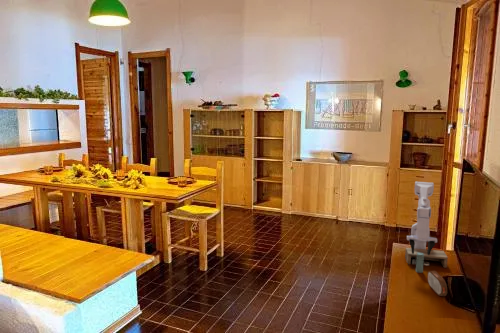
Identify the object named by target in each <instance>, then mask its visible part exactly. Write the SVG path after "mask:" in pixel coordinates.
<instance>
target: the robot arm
mask: <svg viewBox="0 0 500 333" xmlns="http://www.w3.org/2000/svg"><path fill="white" fill-rule="evenodd" d="M434 186H435V183H434V182H427V181H415V182H414V195H415V196H418V203H417V210H416V222H415V223H414V224H412V225H411V230H410V235H406V240H407V241H408V242H409V245H410V248H411V249H412V254H414V248H415V249H426V248H427V254H428V255H430V252H431V250H433V248H434V247H436V246H435V245H436V243H438V238H437V237H432V236H431V235H430V230H431V229H430V219H431V217H432V207H431V200H430V199H429V197H431V196H433V193H434V189H435V188H434ZM426 246H427V247H426Z"/></svg>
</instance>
